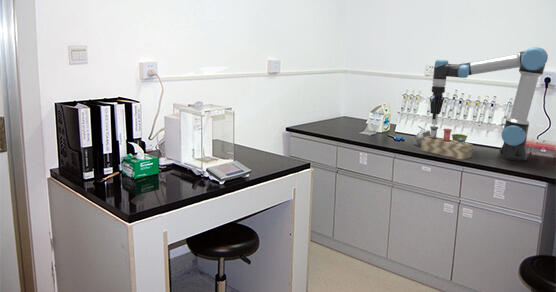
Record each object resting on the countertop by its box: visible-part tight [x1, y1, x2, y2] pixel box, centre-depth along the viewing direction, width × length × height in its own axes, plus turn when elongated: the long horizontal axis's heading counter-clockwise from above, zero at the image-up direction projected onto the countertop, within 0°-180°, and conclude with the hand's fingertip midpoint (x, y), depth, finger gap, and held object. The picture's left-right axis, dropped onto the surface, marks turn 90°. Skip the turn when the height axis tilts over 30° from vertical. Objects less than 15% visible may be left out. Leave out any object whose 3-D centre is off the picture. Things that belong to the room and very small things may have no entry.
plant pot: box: [451, 133, 468, 143], centre depth 288 cm, size 9×9×9 cm
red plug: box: [442, 128, 453, 142], centre depth 273 cm, size 5×5×10 cm
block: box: [419, 136, 474, 161], centre depth 274 cm, size 28×10×8 cm, turn 40°
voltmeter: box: [414, 126, 431, 147], centre depth 299 cm, size 27×11×10 cm, turn 2°
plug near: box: [457, 138, 466, 145], centre depth 267 cm, size 5×5×10 cm
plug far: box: [429, 125, 439, 139], centre depth 279 cm, size 5×5×10 cm
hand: (434, 124), depth 278 cm, fingers closed
